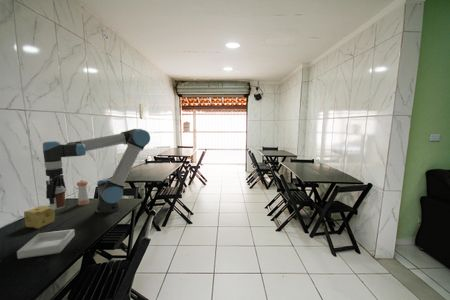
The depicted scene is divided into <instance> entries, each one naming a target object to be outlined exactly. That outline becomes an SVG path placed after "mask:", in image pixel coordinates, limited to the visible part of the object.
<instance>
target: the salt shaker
mask: <svg viewBox="0 0 450 300" xmlns="http://www.w3.org/2000/svg"><path fill="white" fill-rule="evenodd" d="M87 185H88V181H87V180H84V179H82V180H80V181H78V182H77V183H76V186H77V187H78V189H77V190H78V193H77V197H78V200H77V205H78V206H86V205H89V204H90V198H89V192H88V186H87Z"/></svg>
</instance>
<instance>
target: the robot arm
mask: <svg viewBox="0 0 450 300" xmlns="http://www.w3.org/2000/svg"><path fill="white" fill-rule="evenodd" d="M150 141H151V136H150V133H149V131H147V130H146V129H143V128H132V129H129V130H125V131H121V132H119V133H116V134H112V135H107V136H99V137H95V138H89V139H88V138H87V139H85V140H79V141H78V140H77V141H70V142H67V143H66V144H61V142H60V141H56V140H54V141H44V142H43V143H42V152H43V161H44V164H43V165H44V168H45V176H47V177H49V179H48V180H46V181H45V184H46V188H45V189H46V194H45V195H46V196H45V197H46V200H48V201H49V207H50V209H55V210H58V209H57V205H56V197H55V191H56V186H64V188H66V189H67V187H66V183H65V179H64V174H63V173H64V171H63V170H64V169H63V168H62V167H63V162H62V161H63V160H62V158H69V157H81V156H86V154H87V152H89V151H93V150H99V149H103V148H108V147H112V146H117V145H118V146H119V145H126V146H127V147H126V149H125V151H124V153H123V155H122V157H121V158H120V161H119V162H118V165H117V166H116V167H115V170H114V172H113V175H112V176H111V178H103V179H99V180H97V183H96V184H97V185H96V187H97V194H98V195H97V198H98V201H97V205H96V209H95V211H96V213H97V214H99V215H106V214H113V213H115V212H117V211H119V210H120V208H121V205H120V202H119V201H120V200H121V199H122V198H123V197H124V189H125V187H126V184H125V183H126V179H127V178H128V176H129V173H130V172H131V170H132V167H133V166H134V163H135V162H136V160H137V158H138V156H139V154H140V152H141V151H144V150H145V147H146V146H147V145H149V144H150Z"/></svg>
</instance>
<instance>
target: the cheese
mask: <svg viewBox="0 0 450 300" xmlns="http://www.w3.org/2000/svg"><path fill="white" fill-rule="evenodd" d="M55 211H56V209H55V210H53V209H50V206H44V205H39V206H37V207H33V208H31V209H29V210H26V211H24V212H23V214H24V215H23V216H24V223H25V227H26V228H34V229H41V228H43V227H44V226H47V225H49V224H52V223H53V222H55V217H56V213H55Z"/></svg>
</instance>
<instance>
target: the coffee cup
mask: <svg viewBox="0 0 450 300" xmlns="http://www.w3.org/2000/svg"><path fill="white" fill-rule="evenodd" d="M66 192H67V187H66V188H64V186H56V191H55V197H56V205H57V209H53V210H55V211H56V210H60V209H63V208H65V207H66Z"/></svg>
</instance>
